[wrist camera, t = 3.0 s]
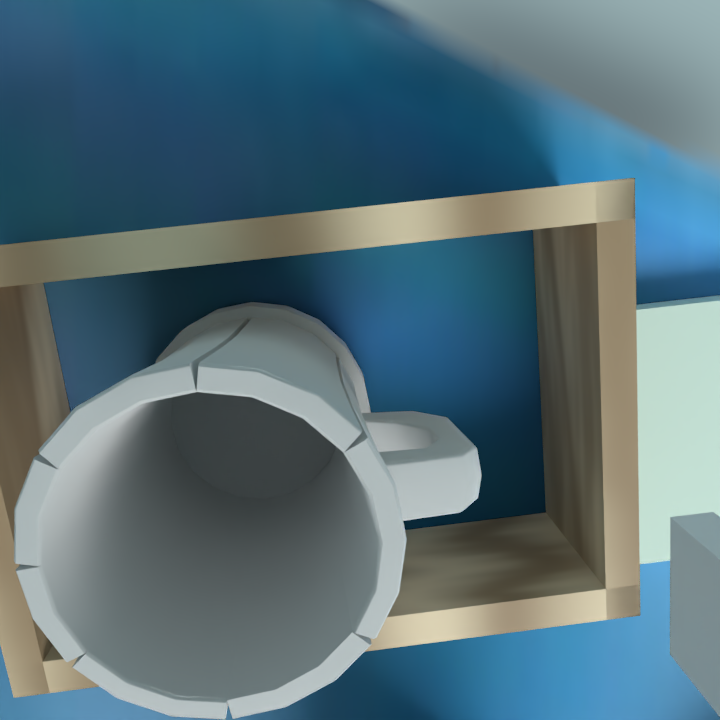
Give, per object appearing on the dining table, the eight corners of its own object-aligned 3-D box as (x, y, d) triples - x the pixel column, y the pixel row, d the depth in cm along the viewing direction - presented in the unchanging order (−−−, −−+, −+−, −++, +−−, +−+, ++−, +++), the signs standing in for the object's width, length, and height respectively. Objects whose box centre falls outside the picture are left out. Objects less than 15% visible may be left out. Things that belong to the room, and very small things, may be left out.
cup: (307, 226, 25) (294, 226, 13) (446, 401, 27) (545, 540, 15) (104, 392, 26) (-79, 533, 14) (252, 550, 27) (201, 793, 16)
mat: (568, 557, 28) (578, 572, 27) (558, 313, 26) (569, 317, 25) (807, 527, 29) (827, 539, 28) (818, 284, 26) (841, 286, 25)
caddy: (79, 596, 27) (13, 697, 21) (3, 248, 24) (-99, 255, 18) (573, 534, 28) (640, 615, 22) (561, 189, 25) (635, 177, 19)
